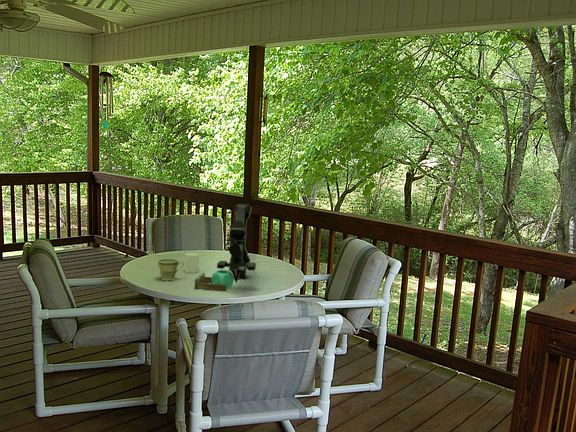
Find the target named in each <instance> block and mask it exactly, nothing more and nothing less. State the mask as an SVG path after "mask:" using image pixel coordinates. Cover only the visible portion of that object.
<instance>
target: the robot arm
mask: <svg viewBox="0 0 576 432" xmlns="http://www.w3.org/2000/svg"><path fill="white" fill-rule="evenodd" d="M234 213H236V214H235V216H236V217H235V222H233V223H232V224H231V228H230V229H229V234H228V235H229V236H228V242H231V244H230V246H229V248H228V252H229V254H230V259H229V262H228V261H227V260H219V261H218V262H217V263H216V268H217V269H219V270H224V268H225V267H227V268H228V271H230V272H231V273H232V275H233V278H234V282H235V283H238V280H239V279H242V280H243V279H247V277H248V275H247V270H248V271H255V270H256V269H257V264H256V262H251V259H250V256H249V252H248V250H247V248H246V245H247V243H246V241H247V235H248V234H247V233H248V231H247V227H248V226H247V223H248V219H249V218H250V216H251V214H252V206H251V205H250V204H247V203H246V204H245V203H238V204H235V205H234Z"/></svg>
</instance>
